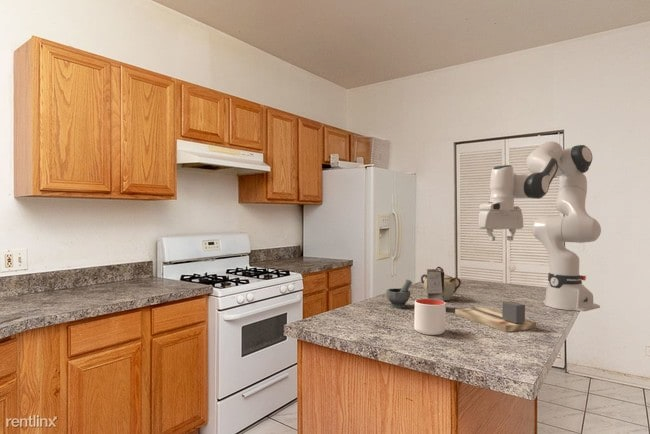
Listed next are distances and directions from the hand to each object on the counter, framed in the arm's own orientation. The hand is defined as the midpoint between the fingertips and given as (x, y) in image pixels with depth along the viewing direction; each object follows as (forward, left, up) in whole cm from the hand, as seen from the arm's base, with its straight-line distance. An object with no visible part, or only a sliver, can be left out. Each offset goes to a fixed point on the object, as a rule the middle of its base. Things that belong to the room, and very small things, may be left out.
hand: (501, 240), depth 159 cm
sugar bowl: (+5, -31, -29) cm, 43 cm away
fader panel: (+11, +7, -29) cm, 32 cm away
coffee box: (+20, -15, -29) cm, 39 cm away
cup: (+42, +11, -29) cm, 52 cm away
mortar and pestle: (+32, -23, -29) cm, 49 cm away
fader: (+11, +17, -27) cm, 33 cm away
